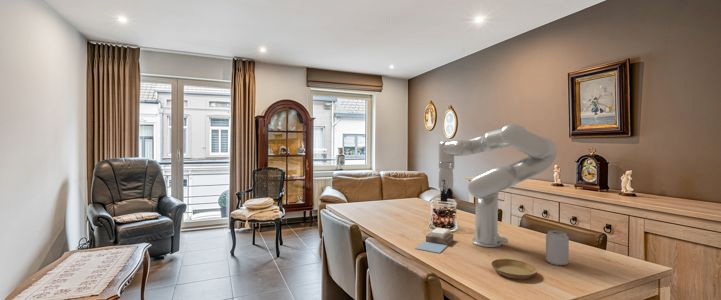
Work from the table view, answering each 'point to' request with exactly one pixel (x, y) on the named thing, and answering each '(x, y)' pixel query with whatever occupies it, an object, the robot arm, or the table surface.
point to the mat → (431, 247)
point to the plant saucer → (513, 268)
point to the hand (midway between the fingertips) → (446, 200)
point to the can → (557, 247)
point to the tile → (440, 232)
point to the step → (440, 239)
